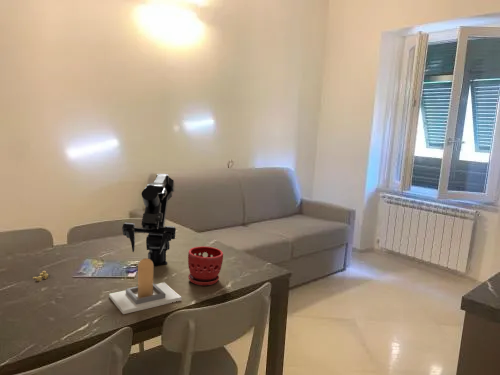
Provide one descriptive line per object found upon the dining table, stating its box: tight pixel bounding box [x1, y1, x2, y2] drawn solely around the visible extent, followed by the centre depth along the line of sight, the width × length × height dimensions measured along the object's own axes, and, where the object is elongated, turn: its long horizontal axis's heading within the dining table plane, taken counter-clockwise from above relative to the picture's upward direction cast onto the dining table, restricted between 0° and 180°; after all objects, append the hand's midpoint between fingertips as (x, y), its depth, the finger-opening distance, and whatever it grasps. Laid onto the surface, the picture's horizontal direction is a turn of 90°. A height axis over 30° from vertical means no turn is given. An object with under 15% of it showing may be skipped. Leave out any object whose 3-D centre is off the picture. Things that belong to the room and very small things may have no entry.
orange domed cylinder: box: [137, 257, 155, 298], centre depth 138 cm, size 5×5×13 cm
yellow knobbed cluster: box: [32, 270, 49, 282], centre depth 151 cm, size 5×5×2 cm
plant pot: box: [187, 246, 224, 286], centre depth 155 cm, size 13×13×12 cm
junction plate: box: [108, 282, 182, 315], centre depth 139 cm, size 20×14×3 cm
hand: (146, 252), depth 145 cm, fingers open, 9 cm apart
